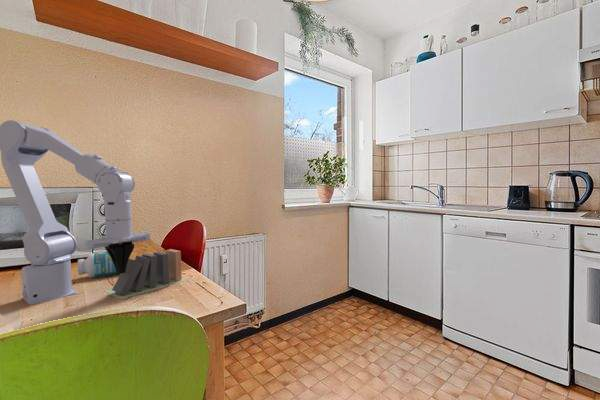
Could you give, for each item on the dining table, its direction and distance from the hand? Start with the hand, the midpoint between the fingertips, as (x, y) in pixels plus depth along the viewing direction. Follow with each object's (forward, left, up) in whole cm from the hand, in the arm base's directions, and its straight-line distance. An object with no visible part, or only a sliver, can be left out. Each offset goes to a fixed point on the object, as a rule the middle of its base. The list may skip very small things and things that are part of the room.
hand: (120, 272), depth 76 cm
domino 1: (-1, 0, -5) cm, 5 cm away
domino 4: (+11, 0, -5) cm, 12 cm away
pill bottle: (+11, +21, -2) cm, 24 cm away
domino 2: (+3, 0, -5) cm, 6 cm away
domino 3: (+7, 0, -5) cm, 9 cm away
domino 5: (+14, 0, -5) cm, 15 cm away
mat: (+7, +1, -6) cm, 9 cm away
